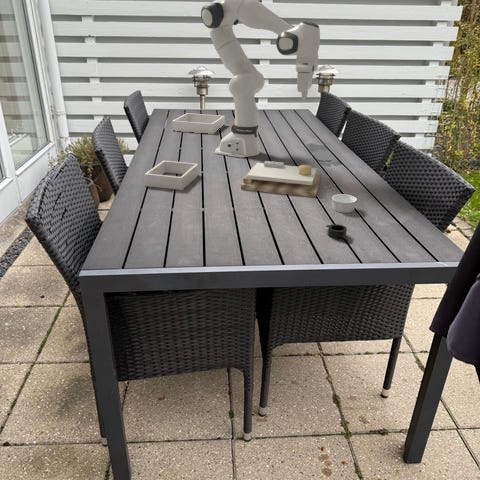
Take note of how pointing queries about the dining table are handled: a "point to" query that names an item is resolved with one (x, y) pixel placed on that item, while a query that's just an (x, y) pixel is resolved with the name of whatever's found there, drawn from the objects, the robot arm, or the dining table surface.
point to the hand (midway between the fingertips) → (304, 100)
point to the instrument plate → (283, 173)
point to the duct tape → (337, 231)
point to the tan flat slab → (282, 186)
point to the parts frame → (171, 182)
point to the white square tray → (198, 123)
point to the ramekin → (343, 203)
